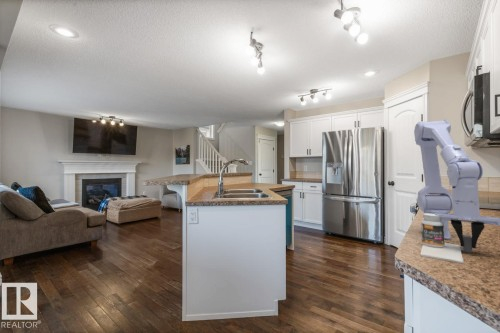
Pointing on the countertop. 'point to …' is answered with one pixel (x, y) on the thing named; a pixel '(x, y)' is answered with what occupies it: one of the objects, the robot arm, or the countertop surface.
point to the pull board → (448, 251)
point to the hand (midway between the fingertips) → (467, 246)
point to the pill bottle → (432, 230)
